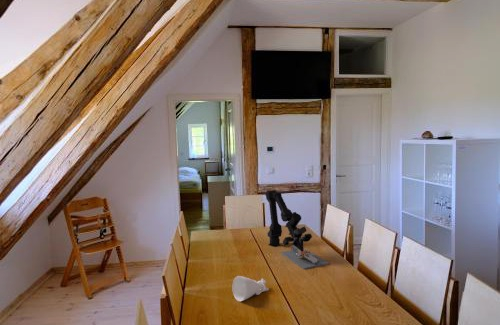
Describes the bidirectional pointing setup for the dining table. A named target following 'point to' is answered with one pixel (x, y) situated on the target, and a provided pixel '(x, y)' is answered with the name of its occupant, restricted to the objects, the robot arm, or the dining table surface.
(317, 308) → the dining table surface
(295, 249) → the valve
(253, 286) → the rocket engine
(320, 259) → the mounting board
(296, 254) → the lever
